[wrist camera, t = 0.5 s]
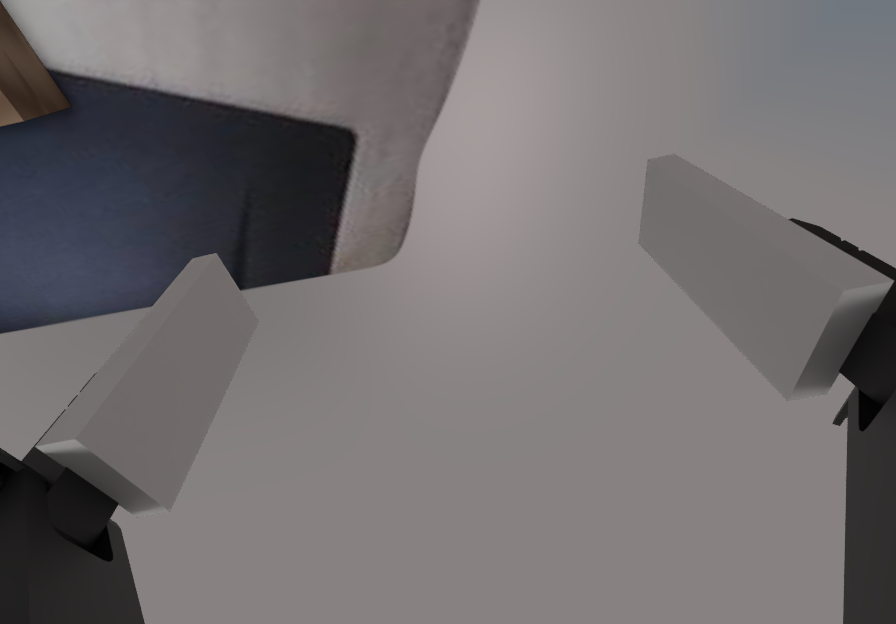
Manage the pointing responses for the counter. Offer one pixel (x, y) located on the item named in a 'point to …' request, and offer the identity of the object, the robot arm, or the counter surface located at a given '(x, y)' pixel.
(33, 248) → the counter surface
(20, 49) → the socket block
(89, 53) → the counter surface
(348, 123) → the counter surface
